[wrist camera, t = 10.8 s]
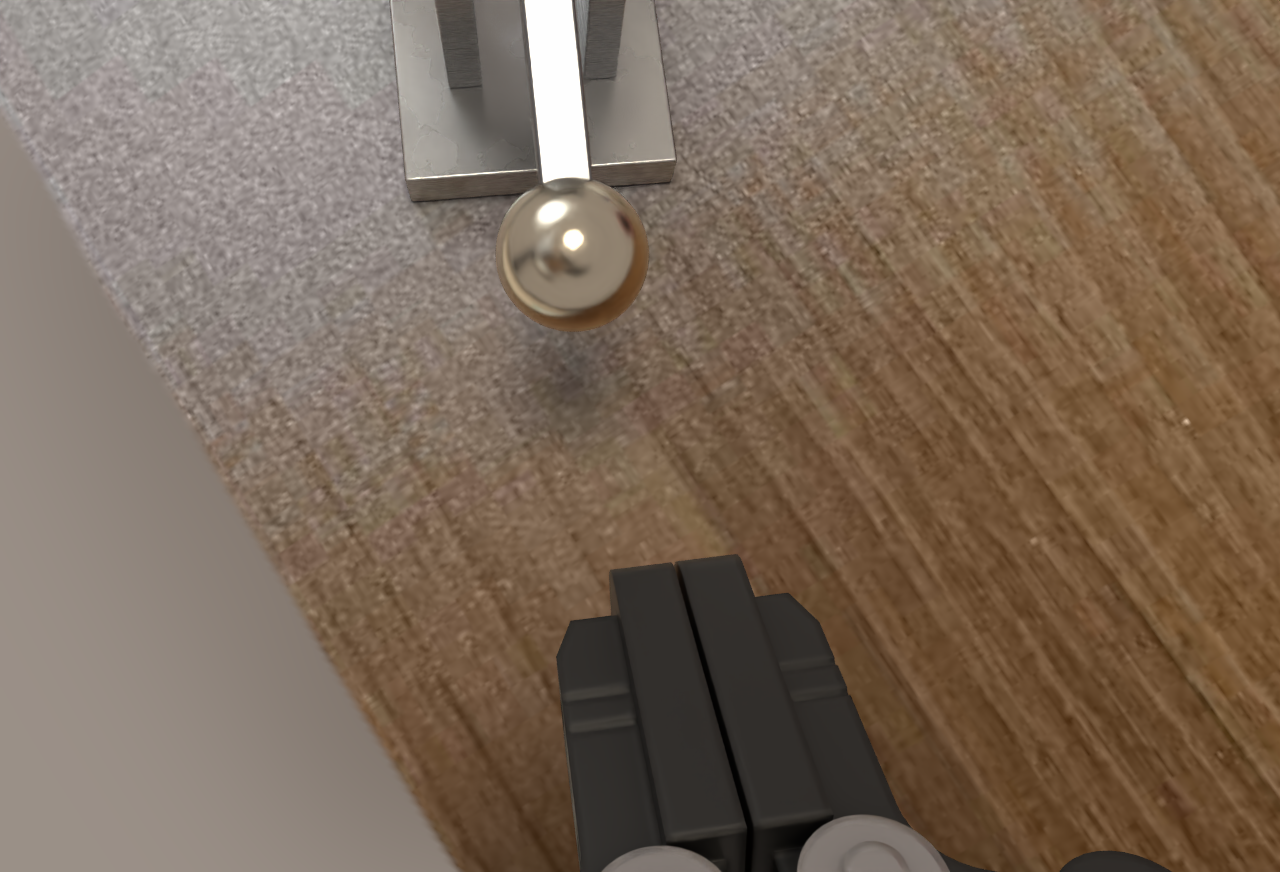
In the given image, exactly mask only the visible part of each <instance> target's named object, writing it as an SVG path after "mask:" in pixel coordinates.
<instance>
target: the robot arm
mask: <svg viewBox="0 0 1280 872" xmlns="http://www.w3.org/2000/svg"><path fill="white" fill-rule="evenodd" d="M609 582H610V601H611V616H605V617H597V618H589V619H582V620H574V621H570V624H569V626H568V629H567V631H566V634H565V636H564V639H563V641H562V644H561V646H560V649H559V651H558V654H557V656H556V658H557V669H558V679H559V689H560V699H561V710H562V720H563V730H564V740H565V750H566V758H567V766H568V775H569V783H570V791H571V799H572V808H573V816H574V824H575V833H576V841H577V849H578V858H579V866H580V872H995V871H989V870H984V869H980V868H975V867H972V866H969V865H966V864H963V863H960V862H958V861H956V860H954V859H952V858H950V857H948V856H946V855H944V854H942V853H941V852H939V851H938V850H936V849H935V848H934V847H933V846H932V845H931V843H930V842H928V841H927V840H926V839H925V838H924V837H923V836H921V835H920V834H919V833H917V832H916V831H914V830H913V829H912V828H911V827H910V825H909V824H908V823H907V821H906V820H905V818H904V817H903V816H902V814H901V812H900V810H899V808H898V806H897V804H896V802H895V799H894V797H893V795H892V792H891V790H890V788H889V785H888V783H887V781H886V778H885V776H884V774H883V771H882V769H881V766H880V764H879V762H878V759H877V757H876V755H875V752H874V750H873V748H872V745H871V743H870V741H869V738H868V736H867V733H866V731H865V729H864V726H863V724H862V722H861V719H860V717H859V715H858V712H857V710H856V708H855V705H854V703H853V701H852V698H851V696H850V695H848V693H847V686H846V684H845V682H844V679H843V677H842V675H841V672H840V670H839V668H838V665H835V661H834V656H833V653H832V651H831V649H830V646H829V644H828V642H827V639H826V637H825V635H824V632H823V630H822V628H821V625H820V623H819V621H818V620H817V619H815V618H814V617H813V616H812V615H811V614H810V613H809V612H808V611H807V610H806V609H805V608H804V607H803V606H802V605H801V604H800V603H799V602H798V601H796V600H795V599H794V598H793V597H792V596H791V595H790V594H789V593H783V594H775V595H767V596H759V597H755V596H754V593H753V591H752V588H751V585H750V582H749V579H748V577H747V574H746V571H745V568H744V566H743V563H742V561H741V559H740V557H739V556H738V555H737V554H734V555H726V556H717V557H709V558H701V559H693V560H685V561H677V562H675V565H674V566H673V564H672V563H663V564H654V565H646V566H638V567H630V568H622V569H614V570H610V573H609ZM1060 872H1171V871H1170V870H1168V869H1166V868H1164V867H1162V866H1161V865H1159V864H1157V863H1155V862H1153V861H1151V860H1148V859H1145V858H1143V857H1140V856H1137V855H1133V854H1129V853H1125V852H1117V851H1096V852H1091V853H1087V854H1083V855H1081V856H1079V857H1076V858H1074V859H1073V860H1071V861H1070V862H1068V863H1067V864H1066V865H1065V866H1064V867H1063V868H1062V869H1061V870H1060Z"/></svg>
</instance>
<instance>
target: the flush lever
mask: <svg viewBox="0 0 1280 872" xmlns="http://www.w3.org/2000/svg"><path fill="white" fill-rule="evenodd" d="M519 5H520V15H521V24H522V34H523V44H524V54H525V63H526V73H527V83H528V92H529V102H530V112H531V122H532V131H533V141H534V151H535V160H536V170H537V180H538V184H537V185H535V186H534V187H532V188H530V189H529V190H527V191H526V192H525V193H523V194H522V195H521V196H520V197H519V198H518V199H517V200H516V201H515V202H514V203H513V204H512V206H511V207H510V209H509V210H508V211H507V213H506V215H505V217H504V219H503V221H502V223H501V226H500V229H499V231H498V236H497V240H496V249H495V257H496V266H497V272H498V275H499V278H500V282H501V284H502V286H503V288H504V290H505V292H506V294H507V295H508V297H509V298H510V300H511V301H512V302H513V303H514V305H515V306H516V307H517V308H518V309H519V310H520V311H521V312H522V313H523V314H524V315H526V316H527V317H529V318H530V319H531V320H533V321H535V322H537V323H539V324H540V325H543V326H545V327H548V328H551V329H555V330H559V331H567V332H581V331H587V330H592V329H595V328H599V327H601V326H603V325H606V324H608V323H610V322H611V321H613V320H615V319H616V318H618V317H619V316H620V315H621V314H622V313H624V312H625V311H626V310H627V309H628V308H629V307H630V305H631V304H632V303H633V302H634V300H635V299H636V297H637V296H638V294H639V292H640V290H641V288H642V286H643V283H644V281H645V278H646V274H647V270H648V263H649V246H648V240H647V235H646V232H645V229H644V226H643V224H642V222H641V219H640V218H639V216H638V214H637V213H636V211H635V209H634V208H633V207H632V206H631V204H630V203H629V202H628V201H627V200H626V199H625V198H624V197H623V196H622V195H621V194H620V193H618V192H617V191H615V190H614V189H613V188H611V187H609V186H607V185H606V184H604V183H601V182H599V181H596V180H593V173H592V163H591V153H590V143H589V133H588V123H587V113H586V103H585V93H584V83H583V73H582V63H581V53H580V43H579V33H578V23H577V13H576V3H575V0H519Z"/></svg>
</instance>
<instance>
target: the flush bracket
mask: <svg viewBox="0 0 1280 872" xmlns="http://www.w3.org/2000/svg"><path fill="white" fill-rule="evenodd" d="M389 2H390V13H391V25H392V36H393V47H394V59H395V70H396V81H397V93H398V104H399V115H400V127H401V138H402V149H403V161H404V172H405V181H406V184H407V188H408V191H409V194H410V198H411V200H412V201H427V200H440V199H453V198H466V197H479V196H492V195H505V194H518V193H525V192H526V191H527V190H529V189H530V188H532V187H534V186H535V185H537V184H538V180H537V170H536V160H535V151H534V141H533V131H532V122H531V112H530V102H529V92H528V83H527V73H526V63H525V54H524V44H523V34H522V24H521V15H520V5H519V0H389ZM575 3H576V13H577V23H578V33H579V43H580V53H581V63H582V73H583V83H584V93H585V103H586V113H587V123H588V133H589V143H590V153H591V163H592V173H593V180H596V181H599V182H601V183H604V184H606V185H607V186H621V185H634V184H647V183H660V182H670V181H671V179H672V175H673V172H674V168H675V165H676V161H677V157H676V149H675V142H674V135H673V128H672V121H671V114H670V107H669V100H668V93H667V85H666V78H665V71H664V64H663V57H662V50H661V43H660V36H659V28H658V21H657V14H656V7H655V0H575Z"/></svg>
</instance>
